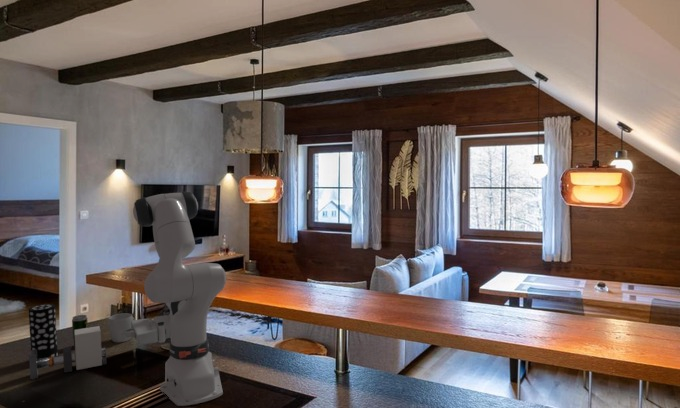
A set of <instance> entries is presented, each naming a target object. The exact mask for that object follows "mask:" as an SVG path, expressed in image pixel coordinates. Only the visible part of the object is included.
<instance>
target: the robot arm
mask: <svg viewBox="0 0 680 408" xmlns="http://www.w3.org/2000/svg"><path fill="white" fill-rule="evenodd" d="M198 210H199V202H198V201H197V198H196V196H195V195H194V193H192V192H191V191H181V192H169V193H160V194H159V193H158V194H155V195H151V196H147V197H141V198H138V199H136V200H135V202H134V203H133V209H132V214H133V218H134V219H135V221H136V222H137V225H139V226H141V227H144V228H145V227H151V226H152V235H153V241H154V246H155V249H156V253H157V256H158V258H159V259H158V262H157V264H156V266H155V268H153V270H152V271H151V272H149V273H148V275H147V276H146V278H145V280H144V285H143V287H144V288H143V289H144V293H145V295H146V298H147V299H148V300H150V302H152V303H156V304H157V303H158V304H160V303H161V304H164V305H166V306H167V307H168V308H169V309H170V314H169V315H164V316H154V317H153V320H152V318H140V319H135V320H133V321H131V328H129V329H126V330H123V331H120V336H121V338H124V337H131V338H134V339H135V341H136V344H137V345H151V344H155V343H159V344H162V343H165V342H166V339H170V342H169V347H168V348H169V355H170V356H169V357H168V359H167V360H166V361H165V366H164V369H165V370H164V371H165V373H164V375H165V377H164V383H162V384H160V386H159V390H161V392H162V393H163V392H164V393H165V394H166V395H167V396H168V397H169V398H168V397H167V396H166V395H165V394H164V393H163V394H164V395H165V396H166V397H167V398H168V399H169V400H170V401H171V402H172V403H174V405H175V406H178V407H180V406H181V407H182V406H183V407H185V406H191V405H192V406H193V405H199V404H200V403H207V402H209V401H212V400H215V399H217V398H219V397H221V396H222V395H223V394H224V392H223V387H222V382H221V377H220V368H219V366H215V367H214V365H215V364H216V359H213V354H212V352H210V348H209V345H210V344H209V339H208V336H207V321H208V313H209V310H210V308H211V305H212V304H213V301H214V299H215V298H216V297H217V296H218V294H219V293H221V292H222V290H223V289H224V288H225V286H226V281H227V275H226V270H225V269H224V267H222V265H221V264H219V263H214V262H201V263H191V264H183V259H185V258H187V257H188V256H189V255H191V253H192V252H193V251H194V250H195V247H196V242H195V236H194V233H193V229H192V225H191V222H190V220H192V219H194V218H195V217H196V216H197V215H198ZM131 338H130V339H131Z"/></svg>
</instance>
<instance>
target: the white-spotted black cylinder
mask: <svg viewBox="0 0 680 408" xmlns="http://www.w3.org/2000/svg"><path fill="white" fill-rule="evenodd" d="M56 317H57V316H56V305H55V304H54V303H44V304H38V305H33V306H31V307H29V308H28V322H29V325H28V328H29V341H30V350H35V349H37V358H38V360H39V359H44V358H49V357H51V356H53V357H56V356H59V355H58V353H59V352H58V338H57V337H58V336H57V335H58V334H57V318H56Z"/></svg>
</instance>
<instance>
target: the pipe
mask: <svg viewBox="0 0 680 408" xmlns="http://www.w3.org/2000/svg"><path fill="white" fill-rule="evenodd" d="M101 352H102V366H103V365H104V366H105V365H107V362H108V361H107V348H106V347H101ZM71 357H72V363H76V352H74V353H72V352H71ZM28 359H29V360H28V363H29V377H30V378H29V379H32V380H36V379H35V378H37V379H38V378H39V369H43V368H52V367H54V366H60V365H61V366H62V365H64V359H63V354H62V355H58V356H56V357H53V356H51V357H49V358H44V359H39V360H38V358H37V349H35V350H31V349H30V350H29V354H28Z"/></svg>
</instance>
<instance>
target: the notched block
mask: <svg viewBox="0 0 680 408" xmlns="http://www.w3.org/2000/svg"><path fill="white" fill-rule="evenodd" d="M74 331H75V347H74V349H75V350H74V351H75V353H76V362H75V364H76V365H75V366H76V367H75V368H76V371H79V370H84V369H88V368H89V369H90V368H93V367H99V366H103V357H102V352H101V348H102V334H101V333H102V331H101V328H100V325H98V326H90V327H88V328H83V329H77V330H74Z"/></svg>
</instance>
